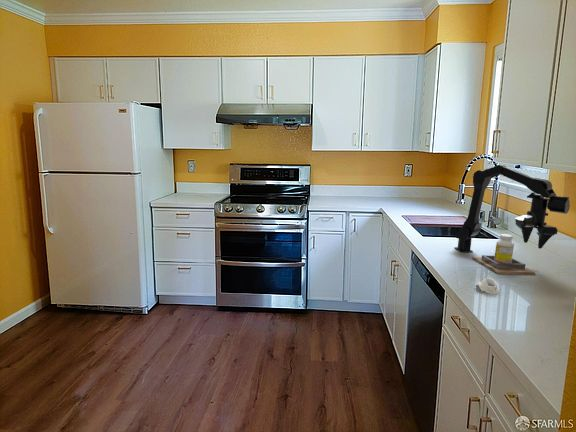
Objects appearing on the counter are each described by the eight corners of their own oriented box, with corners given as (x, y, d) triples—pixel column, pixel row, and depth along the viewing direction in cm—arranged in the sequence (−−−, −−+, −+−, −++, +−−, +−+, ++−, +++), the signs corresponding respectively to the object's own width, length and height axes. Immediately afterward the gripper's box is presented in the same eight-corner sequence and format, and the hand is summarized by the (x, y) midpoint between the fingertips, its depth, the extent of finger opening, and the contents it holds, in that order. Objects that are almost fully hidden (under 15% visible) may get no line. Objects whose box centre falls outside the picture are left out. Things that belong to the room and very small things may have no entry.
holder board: (472, 258, 181) (473, 252, 180) (506, 259, 182) (507, 253, 181) (497, 273, 161) (498, 266, 161) (535, 274, 162) (536, 267, 162)
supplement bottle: (495, 260, 176) (499, 232, 174) (512, 264, 172) (516, 235, 169) (491, 263, 171) (496, 235, 169) (509, 267, 167) (513, 238, 164)
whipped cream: (489, 289, 147) (491, 276, 146) (504, 294, 140) (506, 281, 140) (471, 289, 144) (473, 276, 144) (485, 294, 138) (487, 281, 138)
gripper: (506, 205, 176) (501, 239, 179) (534, 213, 158) (528, 251, 161) (530, 206, 177) (525, 240, 180) (561, 214, 159) (554, 251, 162)
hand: (532, 245), depth 170 cm, fingers open, 9 cm apart
